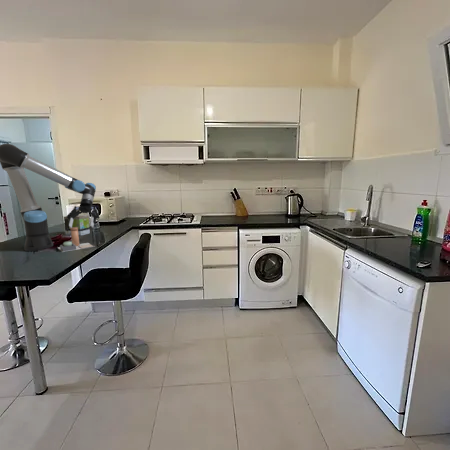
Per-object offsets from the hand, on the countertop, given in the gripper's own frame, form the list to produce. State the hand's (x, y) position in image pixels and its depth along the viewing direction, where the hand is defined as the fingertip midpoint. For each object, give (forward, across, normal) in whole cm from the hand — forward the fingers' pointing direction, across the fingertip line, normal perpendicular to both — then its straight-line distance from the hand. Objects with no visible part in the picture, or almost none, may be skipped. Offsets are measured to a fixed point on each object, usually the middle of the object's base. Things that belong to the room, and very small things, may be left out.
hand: (81, 226), depth 177 cm
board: (+17, 0, 0) cm, 17 cm away
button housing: (+20, +2, +4) cm, 21 cm away
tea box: (-16, +17, -35) cm, 42 cm away
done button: (+18, +2, +6) cm, 19 cm away
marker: (+13, +2, -3) cm, 13 cm away
